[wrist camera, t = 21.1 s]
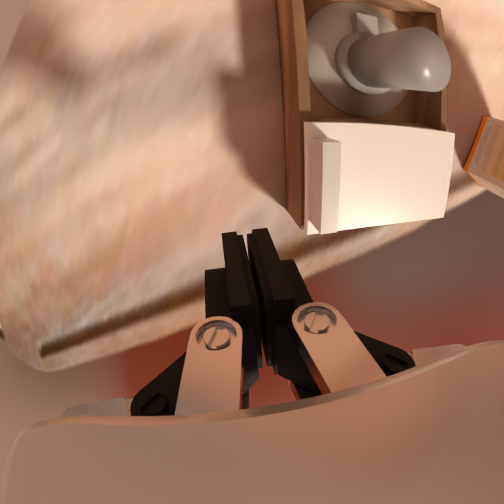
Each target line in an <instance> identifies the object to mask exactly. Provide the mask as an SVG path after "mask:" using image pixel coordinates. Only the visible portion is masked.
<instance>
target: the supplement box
mask: <svg viewBox="0 0 504 504" xmlns="http://www.w3.org/2000/svg"><path fill="white" fill-rule="evenodd" d="M464 170H465V171H466V172H467V173H468V174H469V175H470V176H471V177H472V178H473V180H474V181H475V182H476V183H477V184H478V185H479V186H481V187H483V188H485V189H487V190H489V191H491V192H493V193H495V194H497V195H499V196H500V197H502V198H504V121H502V120H498V119H494V118H490V117H486V116H483V119H482V123H481V125H480V128H479V131H478V134H477V136H476V139H475V142H474V144H473V147H472V149H471V152H470V154H469V157H468V159H467V162H466V164H465V166H464Z"/></svg>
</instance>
